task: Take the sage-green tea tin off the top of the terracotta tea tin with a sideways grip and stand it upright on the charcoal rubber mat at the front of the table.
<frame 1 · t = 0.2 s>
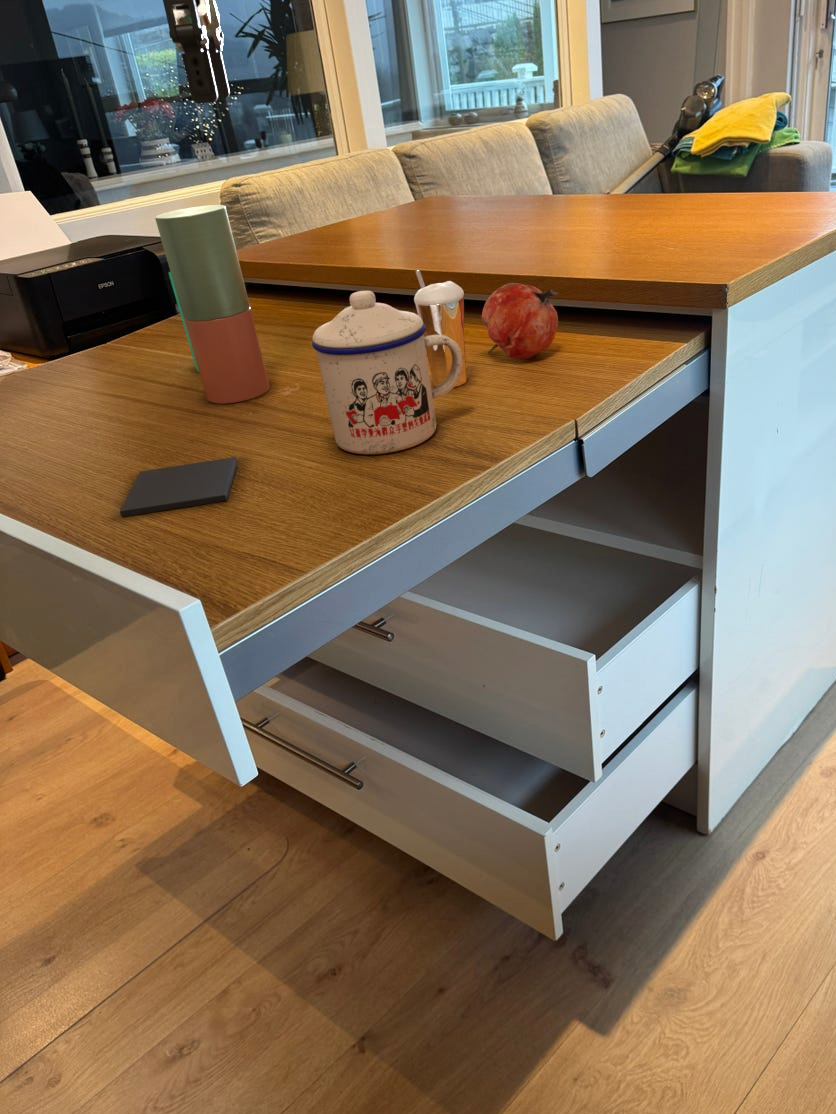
hand: (212, 100, 82), 25 cm above the table, tool pointing down, fingers open, 8 cm apart
mat: (182, 488, 71), on the table
frog figurine: (374, 377, 91), on the table
milkshake: (448, 384, 87), on the table
upper tin: (217, 312, 87), point 8 cm above the table, touching lower tin
pomegranate: (521, 358, 91), on the table
candle: (223, 366, 101), on the table
teacup with lid: (403, 434, 76), on the table
lower tin: (238, 393, 91), on the table, touching upper tin
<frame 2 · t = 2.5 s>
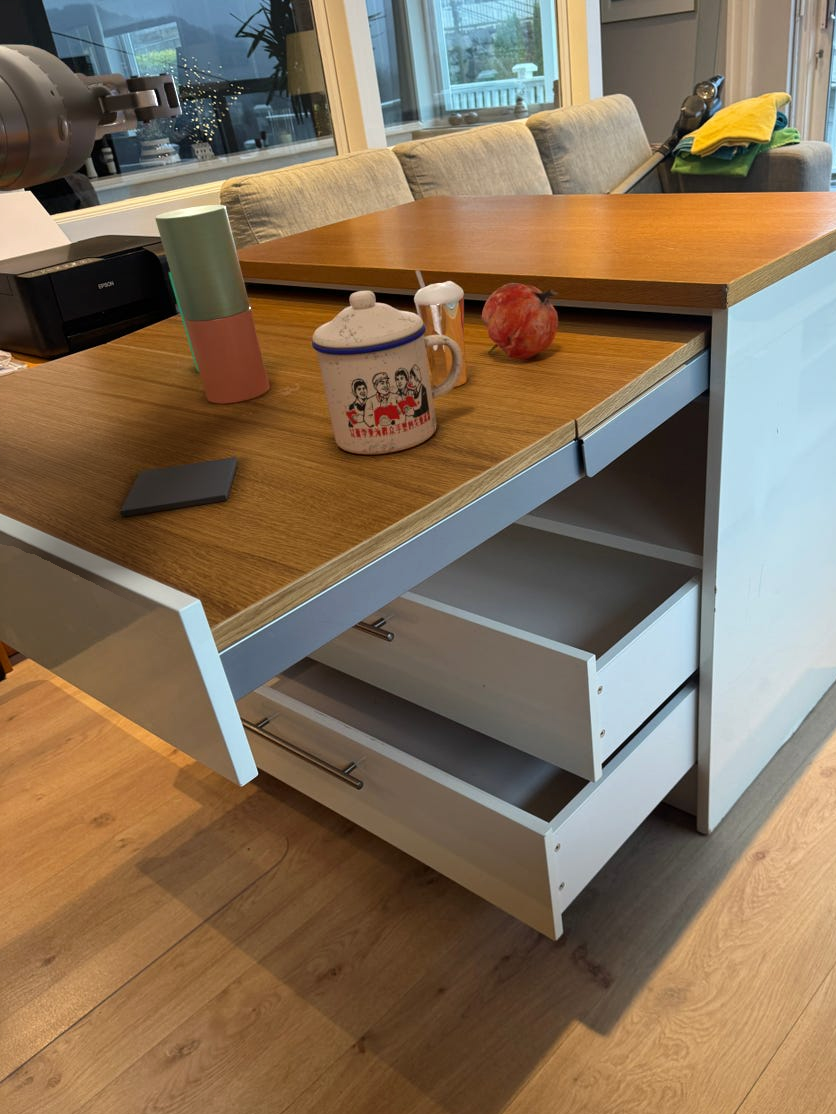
hand: (108, 104, 68), 26 cm above the table, tool horizontal, fingers open, 8 cm apart
nothing on the table moved.
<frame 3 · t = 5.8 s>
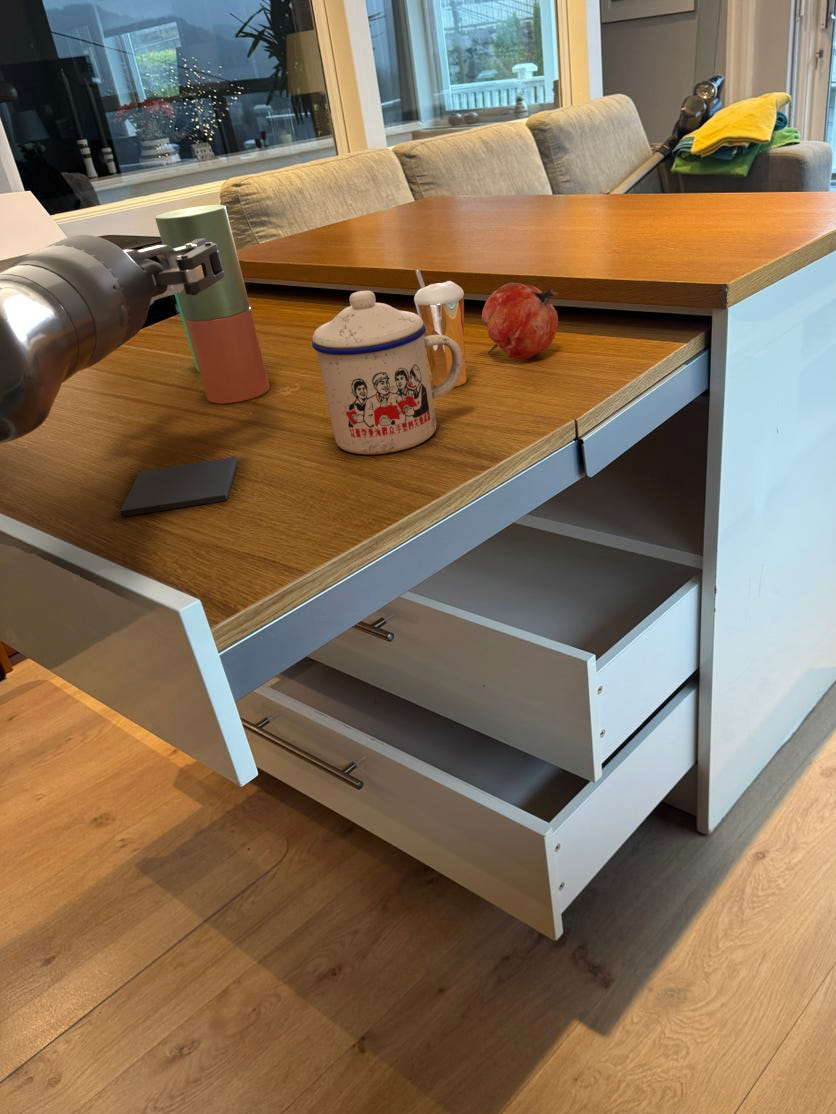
hand: (155, 257, 74), 15 cm above the table, tool horizontal, fingers open, 8 cm apart
nothing on the table moved.
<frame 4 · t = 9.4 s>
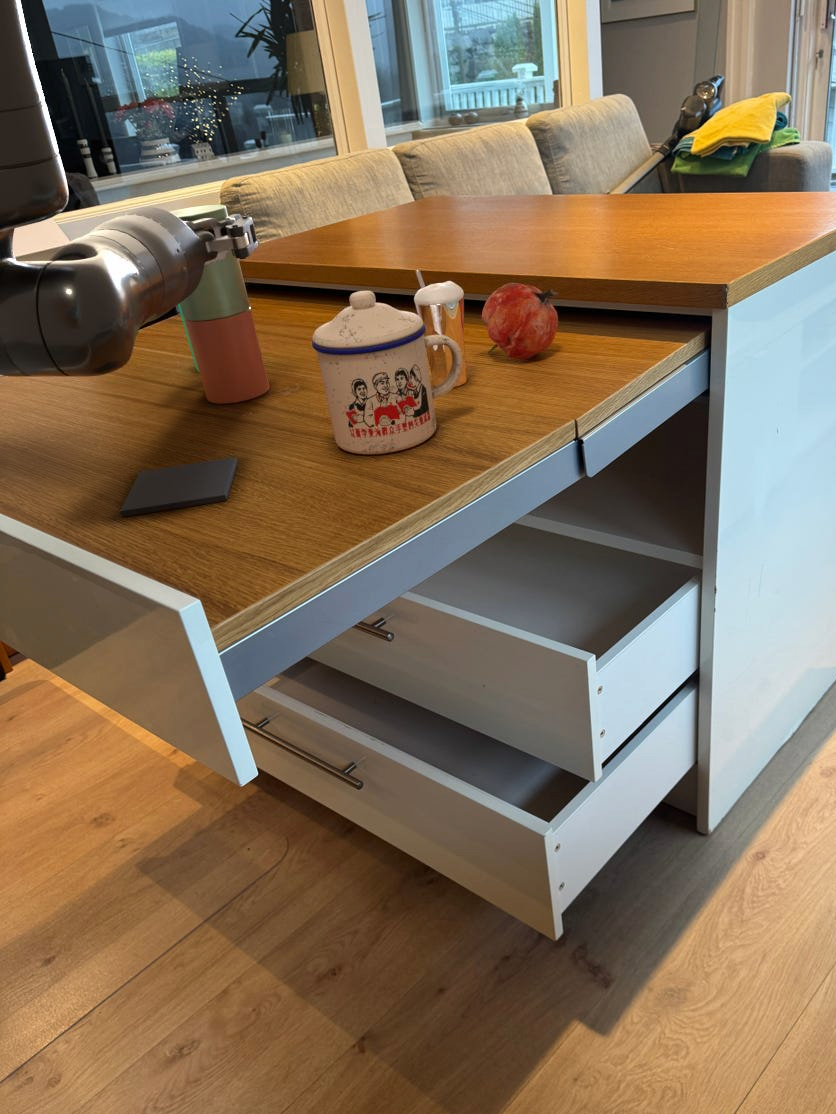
hand: (204, 230, 85), 15 cm above the table, tool horizontal, fingers closed on upper tin, 6 cm apart
upper tin: (217, 312, 87), point 8 cm above the table, touching gripper, lower tin
everything else where it was.
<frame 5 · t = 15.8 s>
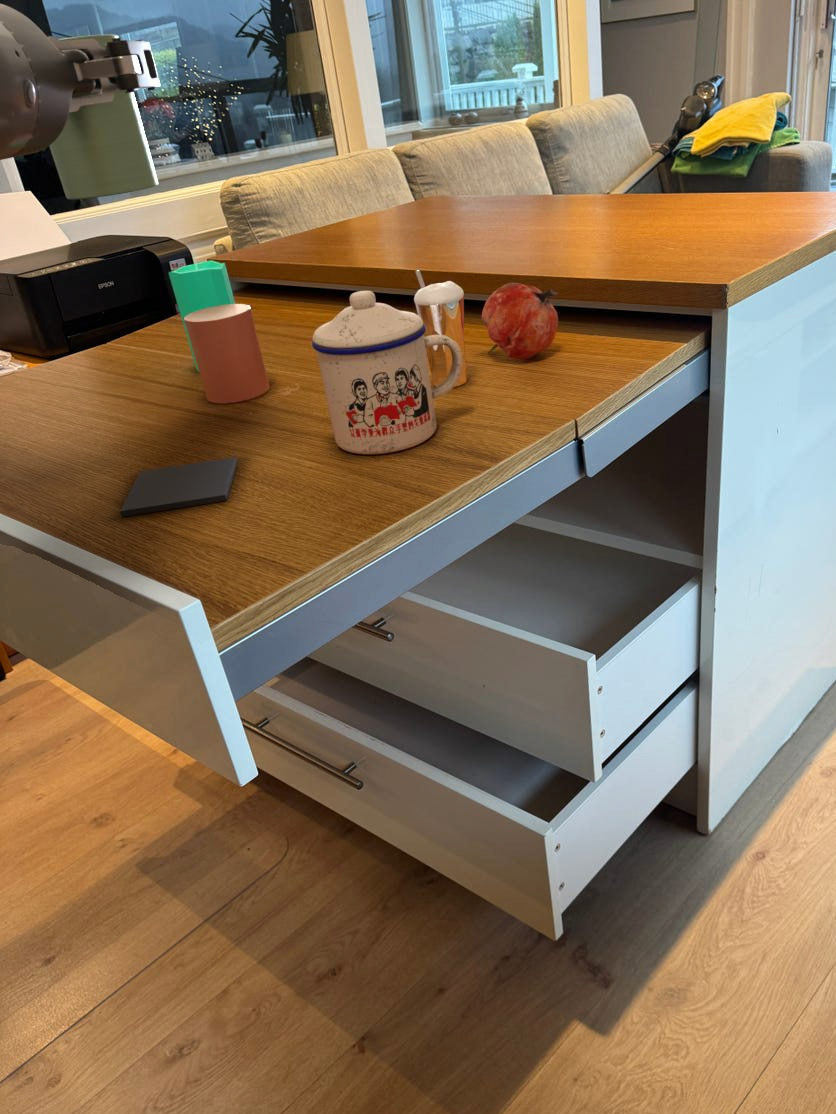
hand: (92, 75, 62), 28 cm above the table, tool horizontal, fingers closed on upper tin, 6 cm apart
upper tin: (113, 191, 64), point 21 cm above the table, touching gripper
lower tin: (238, 393, 91), on the table
everything else where it was.
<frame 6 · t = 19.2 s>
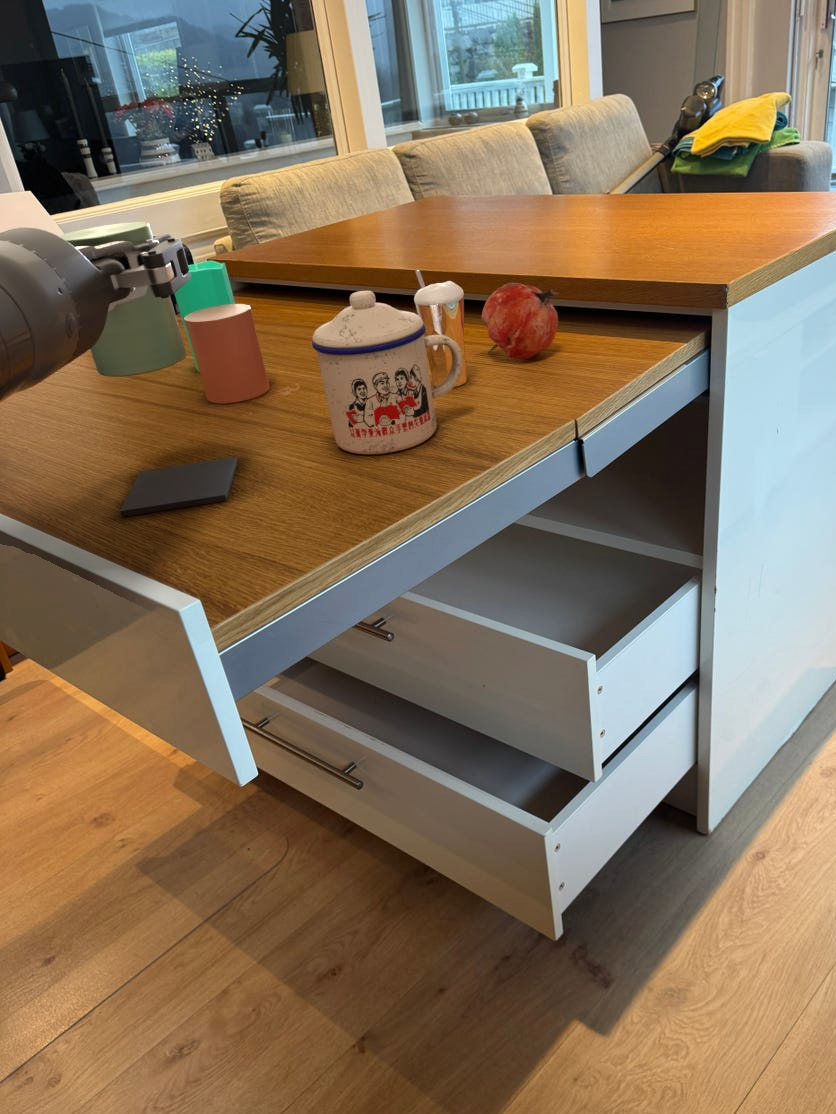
hand: (123, 255, 64), 17 cm above the table, tool horizontal, fingers closed on upper tin, 6 cm apart
upper tin: (143, 363, 66), point 10 cm above the table, touching gripper
everything else where it was.
when the fingers open (8 cm above the table, at t = 22.3 s): upper tin stays where it is, resting on mat.
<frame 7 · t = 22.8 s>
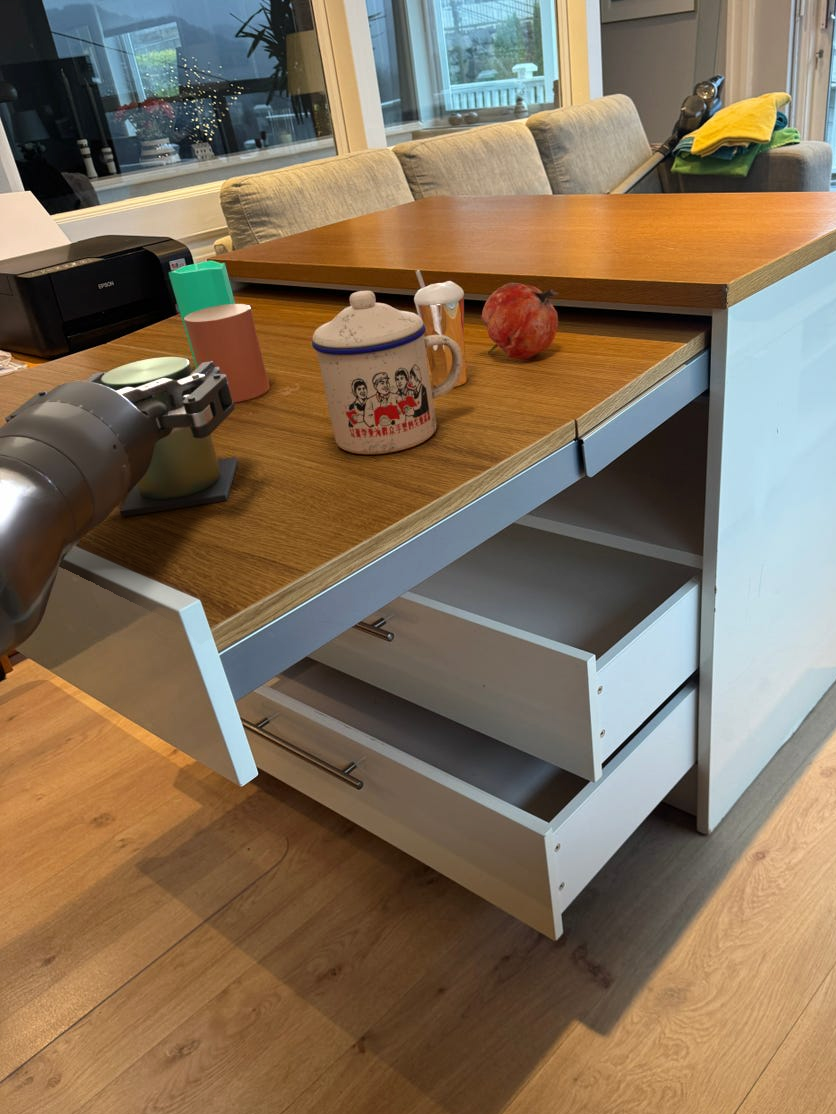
hand: (158, 380, 68), 8 cm above the table, tool horizontal, fingers open, 8 cm apart
upper tin: (181, 482, 71), point 1 cm above the table, touching mat
everything else where it was.
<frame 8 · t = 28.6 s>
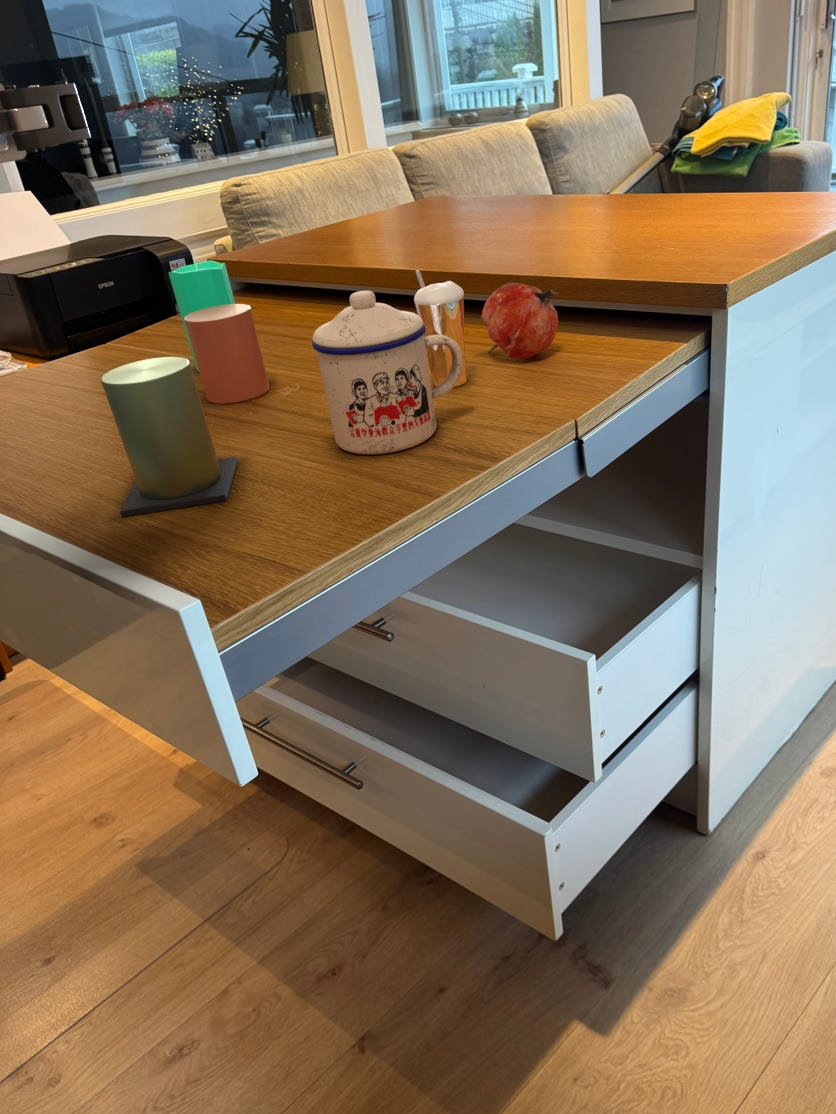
hand: (0, 121, 50), 26 cm above the table, tool horizontal, fingers open, 8 cm apart
nothing on the table moved.
at the end: upper tin inside the target area on the mat (0.1 cm from its centre), point 0.5 cm above the mat's base; upper tin tilted 0°; lower tin moved 0.0 cm from its start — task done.
